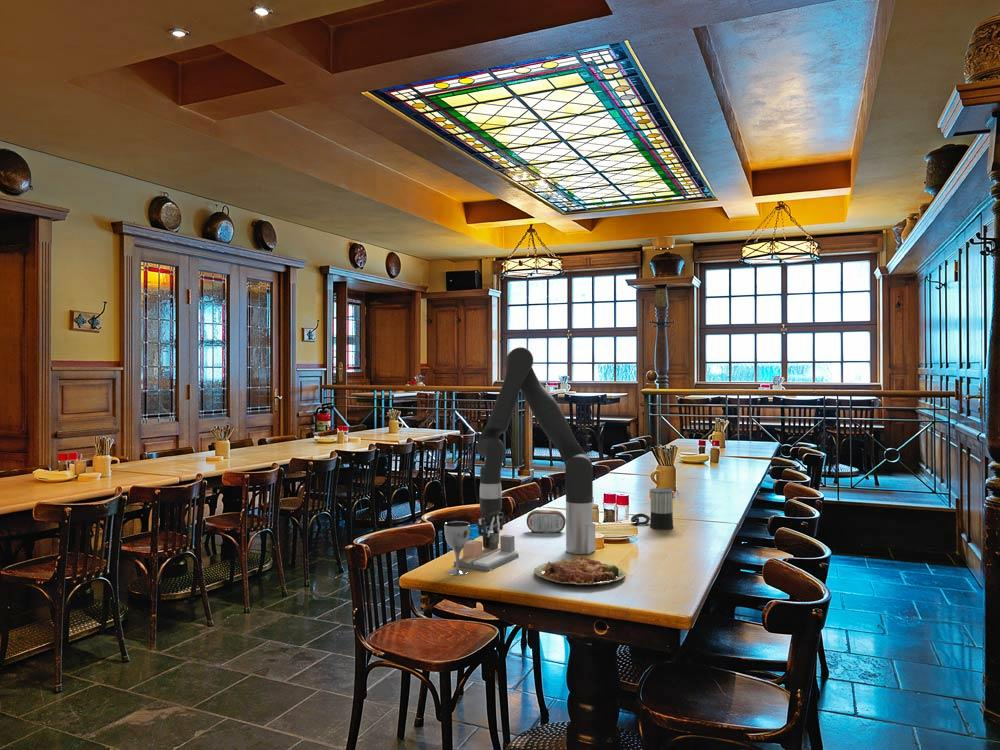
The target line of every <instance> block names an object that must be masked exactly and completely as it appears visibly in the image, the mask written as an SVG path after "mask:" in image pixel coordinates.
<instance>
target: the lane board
mask: <svg viewBox="0 0 1000 750" xmlns="http://www.w3.org/2000/svg"><path fill="white" fill-rule="evenodd" d="M499 550H500V548H499V549H498V550H495V551H493V552H491V553H488V554H486V555H484V556H481V557H479V558H477V559H474V560H472V561H470V564H468V563H462V562H459V568H460V567H461V568H468V569H472V570H477V569H479V571H483V570H487V571H486V572H489V571H488V570H490V569H492V570H494V569H496V568H498V567H500V566H499V565H501V566H502V564H503V565H505V564H507V563H509V562H511V561H513V560H515V558H516V559H517V557H518V558H519V553H517V552H516V554H514V555H512V556H510V557H508V558H506V559H503V560H501V561H499V562H497V563H495V564H492V565H490V566H488V567H486V566H480V565H474V564H473V561H476V560H478V559H480V558H483V557H485V556H487V555H490V554H492V553H494V552H497V551H499ZM510 560H511V561H510ZM508 561H509V562H508ZM506 562H507V563H506ZM504 563H505V564H504ZM453 566H454V567H456V560H455V561H453ZM497 566H498V567H497ZM495 567H496V568H495ZM493 568H494V569H493ZM490 571H491V570H490Z"/></svg>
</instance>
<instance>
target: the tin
mask: <svg viewBox="0 0 1000 750" xmlns="http://www.w3.org/2000/svg"><path fill="white" fill-rule="evenodd" d="M526 525H527V527H528V529H529V530H530V532H532V533H536V532H558V533H560V532H562V531H563V530H564V528H566V516H565V515H564V514H563V513H562V512H561V511H560V510H559V511H558V510H549V509H548V510H545V509H544V510H543V509H535V510H532V511H530V512H529V513H528V515H527V517H526Z"/></svg>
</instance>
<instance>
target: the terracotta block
mask: <svg viewBox="0 0 1000 750" xmlns="http://www.w3.org/2000/svg"><path fill="white" fill-rule="evenodd" d="M482 548H483V541H480V540H475V539H469V540H468V542H467V544H466V545H465V546H464V548H463V549H462V556H463V557H467V558H474V559H475V558H477V557H480V556H482Z"/></svg>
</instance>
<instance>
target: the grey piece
mask: <svg viewBox="0 0 1000 750" xmlns="http://www.w3.org/2000/svg"><path fill="white" fill-rule="evenodd" d="M489 537H490V547H489V548H484V547H482V556H484V555H486V554H488V553H491V552H493V551H495V550H498V549H500V548H499V544H498V534H497V533H494V532H490V535H489ZM480 557H481V556H480ZM477 558H479V557H477ZM477 558H475V559H477ZM472 560H474V558H467V557H463V555H461V556H459V562H462V563H468V564H470V561H472Z"/></svg>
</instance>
